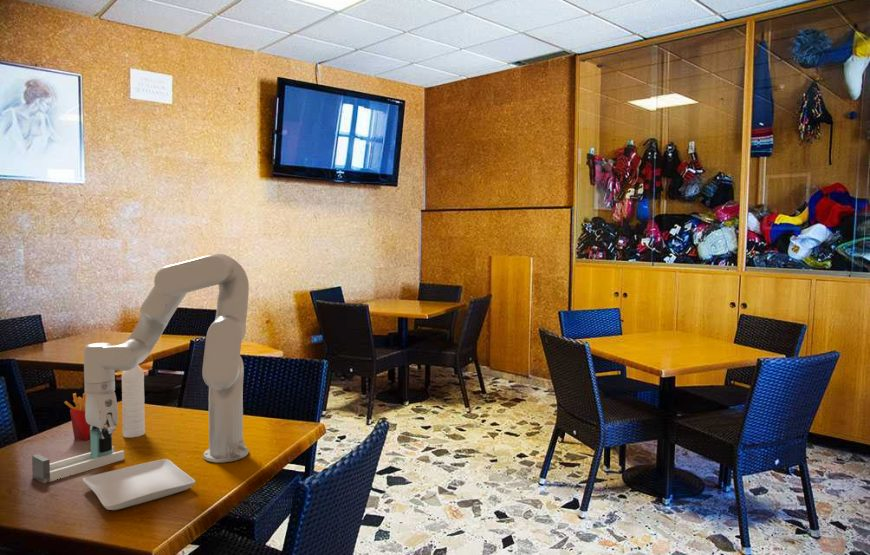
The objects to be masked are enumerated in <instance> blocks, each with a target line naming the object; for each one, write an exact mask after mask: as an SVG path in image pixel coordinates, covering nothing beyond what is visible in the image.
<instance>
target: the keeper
mask: <svg viewBox="0 0 870 555" xmlns="http://www.w3.org/2000/svg"><path fill="white" fill-rule="evenodd" d="M106 430H107V429H104V432H105V431H106ZM99 439H101V438H100V429H99V428H97V429H93V430H90V440H89V442H90V452H91V458H92V459H94V458H98V457H101V456H105V455H108V454H112V450H110V451H106V452H103V453H100V452H99Z"/></svg>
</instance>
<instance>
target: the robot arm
mask: <svg viewBox="0 0 870 555" xmlns="http://www.w3.org/2000/svg"><path fill="white" fill-rule="evenodd" d="M153 283H154V285H153V287H152V288H151V289H150V292H149V293H148V295H147V297H146V298H145V300H143V302H142V303H141V306H140V309H139V312H140V317H139V320H138V321H137V324H136V326H135V327H134V329H133V330H132V332H131V333H130V335H129V337H128V338H127V339H126V341H124V342H122V343H121V344H117V345H113V344H112V343H109V342H94V343H89V344H87V345H85V347H84V348H83V372H84V374H83V379H84V381H83V382H84V393H85V394H86V402H85V418H86V422H87V423H88V424H89V427H90V430H93V429H97V428H99V429H100V438H101V439H99V452H100V453H103V452H106V451H110V450H112V446H113V433H114V432H115V431H116V426H117V425H118V424H119V413H118V412H119V410H118V401H117V395H116V392H115V391H116V377H115V376H116V374H115V371H121V372H123V371H127V370H131V369H133V368H134V367H136V366H137V365H140V364H141V363H143V362H144V361H145V360H146V359H147V358H148V357H149V355H150V354H151V353H152V351H153V350H154V349H155V348H154V347H155V346H156V345H157V343H158V342H159V341H160V337H162V334H163V332H164V331H165V329H166V327H167V326H168V324H169V322H170V320H171V318H172V317H173V315H174V314H175V312H176V311H177V309H178V308H179V306H180V304H181V303H182V302H183V300H184V298H185V297H186V295H188V293H191V292H195V291H200V290H202V289H206V288H211V287H213V286H217V285H218V295H217V303H216V304H217V305H216V311H215V312H216V313H215V319H214V321H213V322H212V323H211V324H210V326H209V327H208V330H207V332H206V336H205V345H204V353H203V362H202V373H201V374H202V379H203V381H204V383H205V385H206V386H208V449H206V450H205V451H203V459H204V460H205V461H207V462H210V463H231V462H235V461H238V460H241V459H244V458H245V457H246V456H247V455H248V454H249V451H250V449H249V448H248V447H247V446H245V440H244V422H243V421H244V420H243V419H244V407H243V406H244V404H243V402H244V400H243V399H244V398H243V395H244V393H243V392H244V390H243V389H244V386H243V385H244V373H245V372H244V367H245V366H244V361H243V358H242V356H241V350H242V342H243V340H244V338H245V336H246V330H247V329H246V328H247V315H248V305H249V303H248V302H249V294H250V287H249V285H250V284H249V279H248V276H247V273H246V271H245V269H244V268H243V266H242V265H241V264H240V263H239V262H238V261H237V260H236V259H234V258H233V257H231V256H228V255H226V254H222V253H213V254H209V255H204V256H201V257H198V258H194V259H190V260H186V261H182V262H178V263H175V264H169V265H165V266H163V267H161V268H160V269H159V270H158V271H157V272H156V273H155V276H154V282H153ZM104 429H107V430H106V431H105V432H104Z"/></svg>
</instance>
